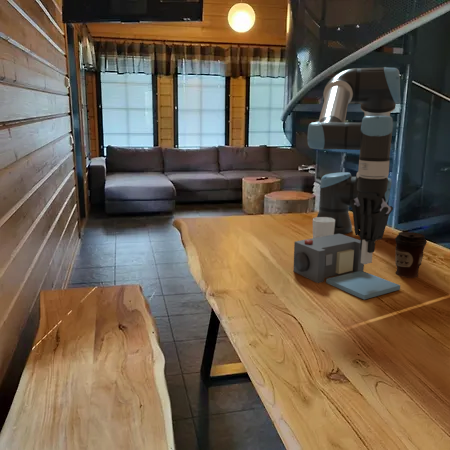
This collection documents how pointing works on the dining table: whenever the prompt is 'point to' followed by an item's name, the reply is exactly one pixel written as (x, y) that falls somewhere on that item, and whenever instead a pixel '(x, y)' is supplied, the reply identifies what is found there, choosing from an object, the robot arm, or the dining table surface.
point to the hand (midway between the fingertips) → (366, 262)
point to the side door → (363, 284)
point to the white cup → (323, 226)
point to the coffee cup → (409, 253)
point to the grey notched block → (327, 256)
